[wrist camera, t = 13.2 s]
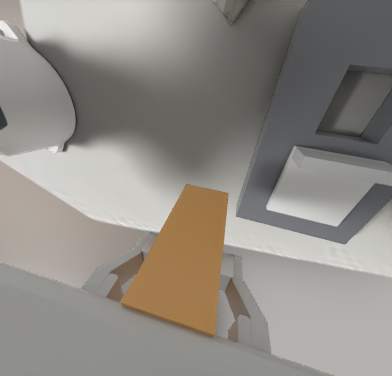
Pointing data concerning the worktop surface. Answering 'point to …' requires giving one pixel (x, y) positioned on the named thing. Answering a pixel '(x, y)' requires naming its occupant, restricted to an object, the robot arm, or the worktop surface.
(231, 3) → the packaged product
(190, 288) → the orange block
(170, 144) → the worktop surface
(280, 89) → the socket plate
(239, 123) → the worktop surface
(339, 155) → the shutter
